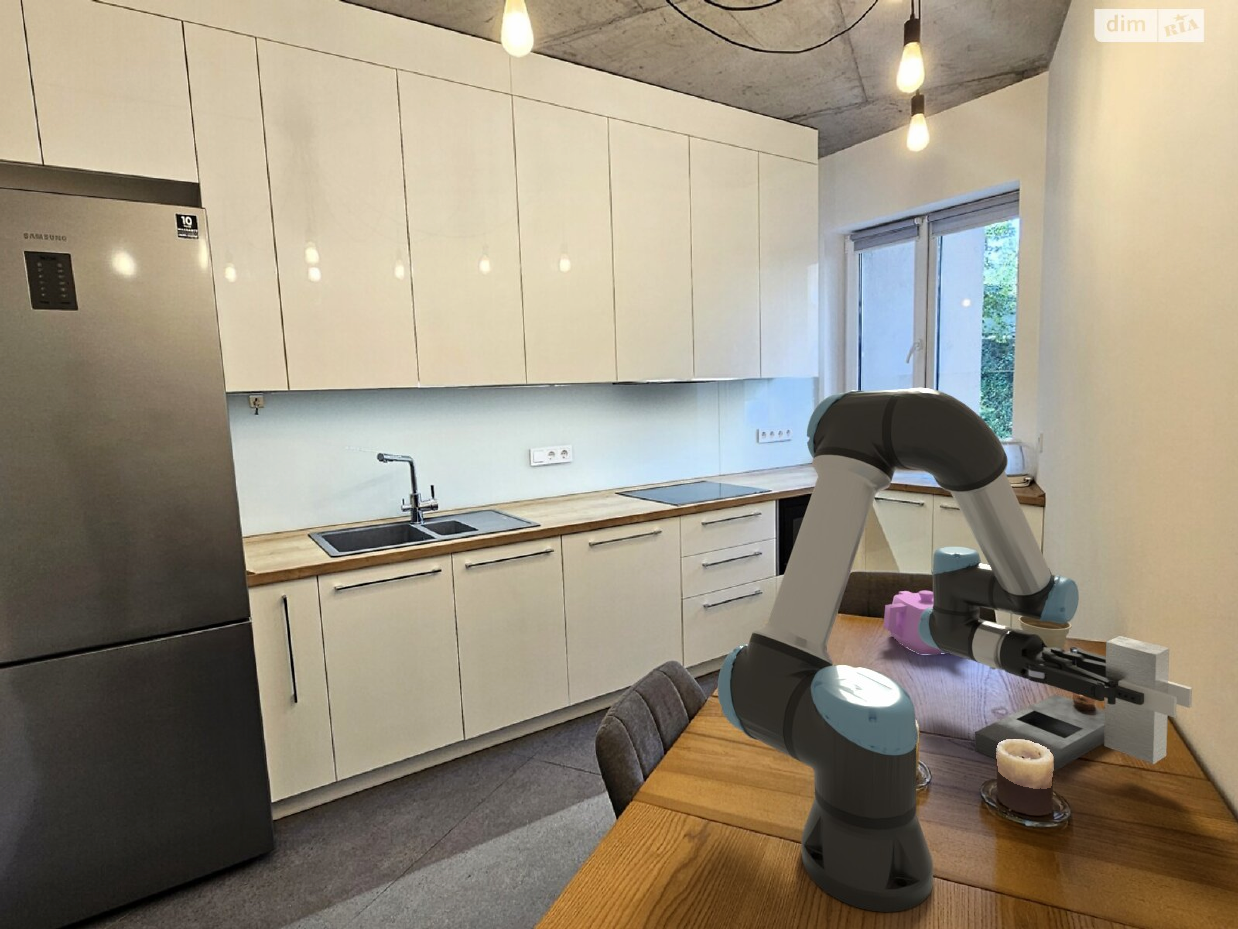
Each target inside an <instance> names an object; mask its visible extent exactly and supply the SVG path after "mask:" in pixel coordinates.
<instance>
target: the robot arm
mask: <svg viewBox="0 0 1238 929" xmlns="http://www.w3.org/2000/svg"><path fill="white" fill-rule="evenodd" d="M806 437H808V438H809V439H808V440H807V443H806V444H807V449H808V451H809V454H810V455H811V457H812V458H813V459H812V461H811V462H812V463H811V464H812V467H813V469H814V471H815V472H816V474H817V478H816V482H815V484H814V487H813V490H812V492H811V496H810V498H809V499H810V500H809V502H808V505H807V507H806V509H805V510H806V511H805V514H804V516H803V518H802V522H801V525H800V528H799V530H798V533H797V536H796V539H795V542H794V544H793V548H792V550H791V554H790V556H789V559H788V562H787V564H786V568H785V571H784V574H783V576H782V580H781V582H780V586H779V588H778V590H777V594H776V597H775V600H774V602H773V604H772V608H771V611H770V615H769V616H768V619H767V620H768V621H767V623H766V624H765V625H763V626H761V627H758V628H755V629H754V630H753V631H752V632H751V633H752V634H751V636H750V638H749V642H748V644H747V643H746V644H742V645H738V646H736V647H735V648H733V650H732V652H729V653H728V654H727V655H726V657H725V659H723V663H722V665H721V667H720V670H719V675H718V681H717V697H718V702H719V704H720V706H721V712H722V714H723V715H724V717H725V718H726V720H727V721H728V722H729V723H730V724H731V725H732V726H733V727H734V728H736V729H738V730H739V731H741V732H743V733H744V735H745V736H747V737H748V738H750V739H753V740H756V741H759V742H761V743H763V744H765V745H767V746H769V747H771V748H773V749H775V750H777V751H779V752H781V753H783V754H785V755H786V756H789V758H790V757H791V758H793V759H794V760H796V761H798V762H801V763H802V764H804V765H806V766H808V767H809V768H811V769H812V770H813V776H814V799H813V802H812V805H811V806H810V810H809V813H808V816H807V819H806V822H805V824H804V828H803V831H802V834H801V843H800V844H801V862H802V865H803V867H804V870H805V872H806V873H807V875H808V876H809V878H810V879H811V880H812V881H813V882H814V884H816V886H818V887H819V888H820V889H821V890H823V891H824V892H825V893H826V894H827V895H830V896H831V897H833V898H835V899H836V900H839V901H840V902H842V903H844V904H847V905H849V906H852V907H856V908H859V909H863V910H867V911H873V912H885V913H886V912H887V913H888V912H890V913H891V912H901V911H905V910H909V909H911V908H914V907H916V906H918V905H920V904H921V903H923V902H925V901H926V899H927V898H928V897H929V895H930V894H931V893H932V889H933V885H934V865H933V858H932V857H933V856H932V855H931V852H930V849H929V845H928V844H927V839H926V837H925V835H924V831H923V828H922V825H921V823H920V821H919V817H918V815H917V744H918V738H919V734H918V727H917V723H916V712H915V706H914V703H913V701H912V700H911V697H910V694H908V691H906V690H905V689H904V688H903V686H902V685H900V684H899V683H898V682H897V681H895V680H894V679H892V678H890V677H888V676H887V675H885V674H883V673H881V672H879V671H878V672H877V671H876V670H873V669H870V668H866V667H862V666H858V667H853V666H851V665H848V664H835V665H834V661H833V659H832V657H831V655H830V653H829V651H828V644H829V640H830V638H831V634H832V631H833V628H834V625H835V623H836V622H835V621H836V619H837V616H838V613H839V609H840V606H841V602H842V600H843V597H844V593H845V590H846V587H847V585H848V582H849V578H850V576H851V572H852V569H853V566H854V562H855V559H856V557H857V553H858V551H859V547H860V544H861V540H862V538H863V535H864V532H865V529H866V525H867V522H868V519H869V516H870V513H871V510H872V506H873V504H874V501H875V497H876V495H877V493H880V492H882V491H884V490H886V489H888V488H890V486H891V484H892V481H893V476H894V475H895V471H896V470H897V469H898V470H918V471H922V472H925V473H928V474H929V475H931V476H933V479H934V480H935V482H936V484H937V485H938V486H939V487H940V488H941V489H943V490H944V491H947V492H950V494H951V496H952V497H953V500H954V502H955V504H956V505H957V507H958V509H959V511H960V513H961V515H962V516H963V518H964V520H965V522H966V524H967V525H968V527H969V529H970V531H971V533H972V535H973V537H974V539H975V540H976V543H977V544H978V546H979V548H980V551H981V552H982V554H983V556H984V558H985V559H986V561H987V564H985V563H981V562H982V560H981V557H980V553H979V552H978V551H977V550H975V549H973V548H969V547H963V546H945V547H941V548H938V549H936V550H935V551H934V553H933V558H932V559H933V560H932V561H933V562H932V571H931V574H932V592H933V607H929V608H927V609H925V610H924V611H923V613H922V614H921V616H920V622H919V623H918V632H919V636H920V638H921V640H922V641H923V642H924V643H925V644H927V645H929V646H932V647H934V648H936V649H939V650H941V651H942V652H945V653H950V654H951V655H953V656H957V657H960V658H963V659H967V660H969V661H973V662H976V663H978V664H982V665H985V666H987V667H989V668H990V669H991V670H1000V671H1005V672H1006V674H1007V673H1008V674H1010V675H1012V676H1013V675H1014V676H1017V677H1020V678H1023V679H1026V680H1028V681H1030V682H1034V683H1038V684H1039V683H1040V684H1045V685H1047V686H1051V687H1053V688H1057V689H1061V690H1063V691H1067V692H1070V693H1072V694H1073V693H1076V694H1079V695H1082V696H1085V697H1088V698H1091V699H1094V700H1096V701H1097V702H1098V701H1099V702H1105V698H1108V704H1112V705H1114V704H1116V698H1118V700H1121V701H1124V702H1127V703H1130V704H1134V705H1137V706H1140V707H1143V708H1146V709H1149V710H1152V711H1155V712H1158V713H1161V714H1165V715H1167V717H1168V716H1169V717H1172V718H1175V717H1177V705H1179V706H1181V707H1185V708H1189V709H1190V708H1191V707H1192V701H1193V700H1192V699H1193V697H1192V696H1193V687H1191V686H1187V685H1184V684H1180V683H1176V682H1173V681H1169V680H1168V694H1165V693H1162V692H1159V691H1155V690H1152V689H1149V688H1145V687H1142V686H1139V685H1135V684H1132V683H1129V682H1125V681H1122V680H1120V681H1118V685H1116V682H1115V681H1113V680H1110V679H1107V678H1106V655H1101V654H1097V653H1094V652H1091V651H1087V650H1084V649H1083V648H1080V647H1077V646H1075V645H1074V646H1069V651H1066V650H1065V649H1064V650H1063V649H1060V648H1055V647H1052V648H1048V647H1047V646H1046V645H1045V644H1044V642H1043V640H1042V638H1041V637H1040V636H1039V635H1037V634H1034V633H1030V632H1027V631H1023V629H1020V628H1019V629H1018V628H1014V627H1012V626H1009V625H1005V624H1001V623H998V622H995V621H989V620H985V619H982V618H981V617H980V612H981V608H985V609H987V610H992V611H998V612H1003V613H1008V614H1011V615H1017V616H1019V617H1020V616H1024V617H1029V618H1033V619H1038V620H1040V621H1049V622H1055V623H1068V622H1069V623H1070V622H1071V621H1072V620H1073V618H1074V617H1075V615H1076V612H1077V609H1078V606H1079V600H1080V599H1079V594H1080V592H1079V589H1078V585H1077V584H1076V581H1075V580H1073V579H1071V578H1070V577H1065V576H1061V575H1060V574H1057V575H1056V574H1052V571H1051V569H1050V567H1049V566H1048V563H1047V562H1046V559H1045V557H1044V554H1043V553H1042V550H1041V549H1040V546H1039V544H1038V541H1037V539H1036V537H1035V535H1034V533H1033V530H1032V527H1031V526H1030V523H1029V522H1028V520H1027V517H1026V515H1025V512H1024V510H1023V508H1022V506H1021V504H1020V502H1019V500H1018V497H1017V495H1016V492H1015V491H1014V488H1013V487H1012V484H1011V482H1010V480H1009V477H1008V475H1007V473H1006V470H1007V468H1008V464H1009V462H1008V460H1009V459H1008V456H1007V454H1006V451H1005V449H1004V447H1003V445H1002V443H1001V441H1000V439H999V437H998V436H997V435H996V433H995V432H994V430H993V428H991V426H990V425H988V424H987V422H986V421H985V420H984V419H983V418H982V417H981V416H980V415H979V414H977V412H975V411H974V410H973V409H972V408H970V407H969V405H967V404H966V403H964V402H963V401H960V400H959V399H957V398H956V397H954V396H952V395H950V394H948V393H945V392H943V391H940V390H937V389H932V388H926V387H911V388H906V389H905V388H901V389H886V390H871V391H870V390H869V391H867V390H866V391H865V390H857V389H856V390H849V391H846V392H840V393H835V394H832V395H829V396H828V397H825V398H824V399H823V400H821V402H820V403H819V404H818V405H816V408H814V410H813V411H812V414H811V416H810V418H809V421H808V425H807V429H806ZM950 654H949V655H950Z"/></svg>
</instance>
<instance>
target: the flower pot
mask: <svg viewBox="0 0 1238 929" xmlns="http://www.w3.org/2000/svg"><path fill="white" fill-rule="evenodd" d="M1017 619H1018V622H1019V623H1020V627H1021V630H1023V631H1027V632H1030V633H1034V634H1037V635H1039V636H1040V637H1041V638H1042V640H1043V642H1044V644H1045V645H1046V646H1047V647H1048V648H1052V647H1055V648H1060V649H1063V650H1064V651H1065V646H1066V640H1067V636H1068V634H1069V632H1070V630H1071V629H1072V626H1073V624H1072V623H1070V621H1069V622H1068V623H1055V622H1049V621H1040V620H1038V619H1033V618H1029V617H1024V616H1020V615H1019V617H1018V618H1017Z"/></svg>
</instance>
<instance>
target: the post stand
mask: <svg viewBox="0 0 1238 929" xmlns="http://www.w3.org/2000/svg"><path fill="white" fill-rule="evenodd" d="M1096 703H1097V700H1094V699H1091V698H1088V697H1085V696H1082V695H1079V694H1076V693H1072V698H1069V697H1067V696H1063V695H1060V694H1057V693H1054V694H1053V695H1050V696H1048V697H1046V698H1044V699H1042V700H1040V701H1038V702H1035V703H1034V704H1032V705H1029V706H1027V707H1025V708H1024V709H1020V710H1018V711H1016V712H1015V713H1012V714H1010V715H1008V716H1006V717H1004V718H1002V719H1000V720H997V721H995V722H993V723H991V724H988V725H987V726H985V727H982V728H980V729H978V730H976V731H974V750H975V751H976V752H980V754H981V753H982V754H983V755H985V756H988V757H990V758H992V757H993V758H992V759H995V760H996V748H997V745H998V743H999V742H1001V741H1003V740H1006V739H1025V740H1030V741H1032V742H1034V743H1039V744H1040V745H1042V746H1045V747H1047V749H1050V752H1051V753H1052V754H1053V756H1054V772H1056V771H1058V770H1060V769H1061V768H1063V767H1064V766H1066V765H1068V764H1070V763H1072V762H1073V761H1075V760H1077V759H1079V758H1080V757H1082V756H1084V755H1085V754H1087V753H1089V752H1091V751H1092V750H1094V749H1096V748H1097V747H1100V746H1101V745H1104V737H1105V709H1101V708H1098V707H1097V704H1096Z"/></svg>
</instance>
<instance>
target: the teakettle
mask: <svg viewBox="0 0 1238 929" xmlns="http://www.w3.org/2000/svg"><path fill="white" fill-rule="evenodd" d="M929 607H933V591H930V590H920V591H918V592H910V591H908V590H904V591H902V590H901V591H898V594H895V595H894V596H893V600H892V603H890V604H885V607H884V617H883V628H884V629H886V630H887V632H888V631H889V632H890V635H892V636H891V638H892V637H894V638H895V639H896V640H897V641H898V642H899V643H901V644H903V645H904V646H905V647H908V648H909V649H911V650H913V651H915V652H917V653H919V654H941V653H945V652H942V651H941V650H939V649H936V648H934V647H932V646H929V645H927V644H925V643H924V642H923V641H922V640H921V638H920V636H919V632H918V623H919V622H920V616H921V614H922V613H923V611H924V610H925V609H927V608H929ZM897 641H896V642H897ZM898 642H897V643H898ZM899 643H898V644H899ZM905 647H904V648H905ZM909 649H908V650H909Z"/></svg>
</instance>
